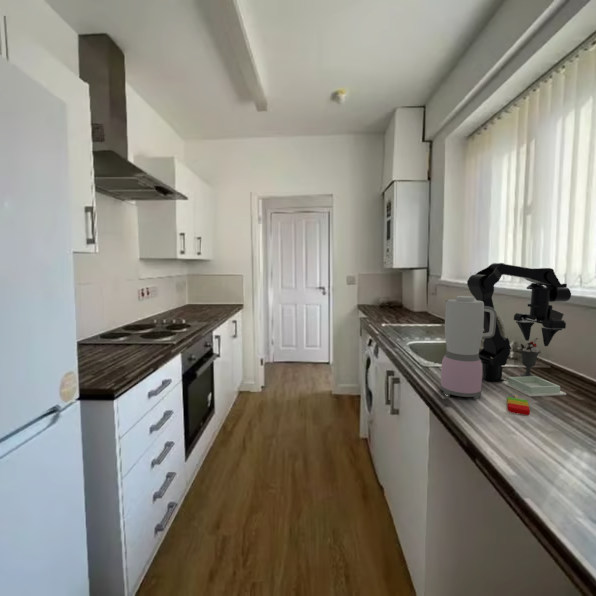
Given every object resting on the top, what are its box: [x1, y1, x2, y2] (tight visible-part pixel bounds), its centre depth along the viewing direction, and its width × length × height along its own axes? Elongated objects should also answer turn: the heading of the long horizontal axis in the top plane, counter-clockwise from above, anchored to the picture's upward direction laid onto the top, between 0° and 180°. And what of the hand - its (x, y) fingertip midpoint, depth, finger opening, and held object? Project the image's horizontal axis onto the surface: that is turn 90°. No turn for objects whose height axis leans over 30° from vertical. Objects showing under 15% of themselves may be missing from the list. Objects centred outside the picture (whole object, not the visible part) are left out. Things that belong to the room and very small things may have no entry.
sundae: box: [518, 337, 541, 377], centre depth 135 cm, size 7×7×15 cm
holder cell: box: [501, 375, 567, 397], centre depth 123 cm, size 13×13×2 cm
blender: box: [439, 295, 497, 401], centre depth 116 cm, size 16×12×32 cm
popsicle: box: [506, 394, 531, 416], centre depth 109 cm, size 6×15×2 cm, turn 151°
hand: (536, 343), depth 135 cm, fingers open, 9 cm apart
